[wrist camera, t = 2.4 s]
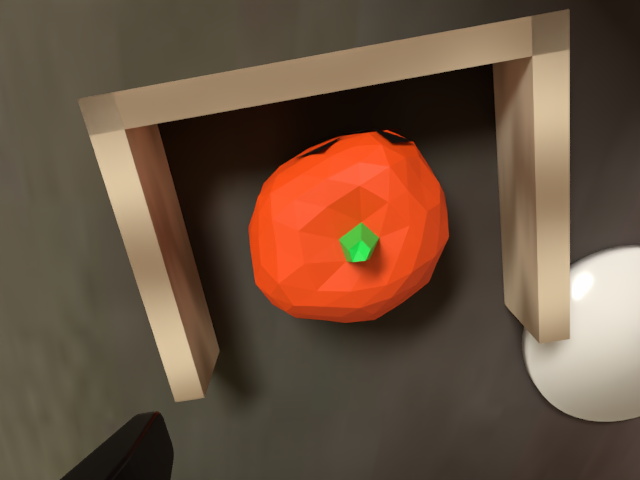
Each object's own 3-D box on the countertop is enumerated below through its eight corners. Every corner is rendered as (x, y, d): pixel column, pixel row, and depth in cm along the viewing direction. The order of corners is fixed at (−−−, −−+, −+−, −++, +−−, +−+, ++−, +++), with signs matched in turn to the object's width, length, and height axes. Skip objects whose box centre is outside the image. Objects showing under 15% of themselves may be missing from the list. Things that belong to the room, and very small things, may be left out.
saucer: (701, 395, 24) (714, 406, 23) (524, 423, 24) (531, 434, 23) (719, 229, 21) (734, 234, 20) (518, 262, 21) (525, 269, 21)
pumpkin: (225, 209, 21) (174, 240, 15) (373, 96, 20) (387, 78, 13) (322, 332, 22) (312, 411, 16) (468, 233, 21) (523, 276, 14)
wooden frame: (530, 300, 22) (569, 339, 19) (195, 354, 23) (175, 402, 19) (521, 22, 18) (569, 9, 15) (118, 95, 19) (77, 98, 15)
